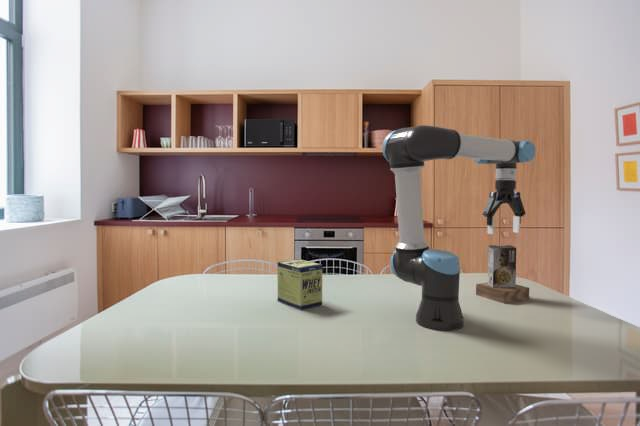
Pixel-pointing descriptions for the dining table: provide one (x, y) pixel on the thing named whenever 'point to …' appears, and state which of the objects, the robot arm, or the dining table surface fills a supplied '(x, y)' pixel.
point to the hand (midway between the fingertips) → (503, 233)
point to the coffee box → (502, 266)
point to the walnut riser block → (502, 293)
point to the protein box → (300, 283)
